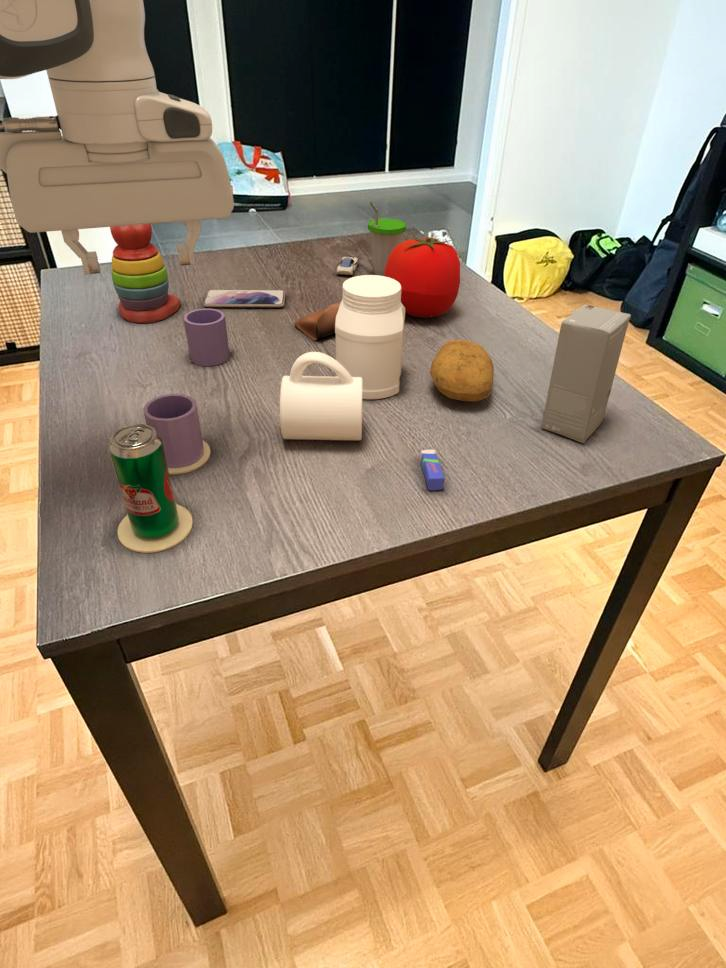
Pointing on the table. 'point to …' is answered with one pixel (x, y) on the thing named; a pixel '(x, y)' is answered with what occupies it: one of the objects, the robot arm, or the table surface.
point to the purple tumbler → (176, 428)
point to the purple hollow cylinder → (207, 336)
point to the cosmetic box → (584, 371)
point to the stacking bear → (140, 276)
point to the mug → (320, 402)
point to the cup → (384, 239)
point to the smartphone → (245, 298)
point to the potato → (463, 371)
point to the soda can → (144, 480)
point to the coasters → (177, 534)
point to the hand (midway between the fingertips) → (141, 267)
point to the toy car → (347, 266)
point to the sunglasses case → (319, 322)
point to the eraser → (431, 470)
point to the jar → (371, 333)
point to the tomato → (425, 275)
